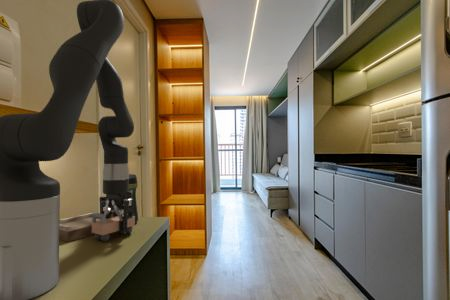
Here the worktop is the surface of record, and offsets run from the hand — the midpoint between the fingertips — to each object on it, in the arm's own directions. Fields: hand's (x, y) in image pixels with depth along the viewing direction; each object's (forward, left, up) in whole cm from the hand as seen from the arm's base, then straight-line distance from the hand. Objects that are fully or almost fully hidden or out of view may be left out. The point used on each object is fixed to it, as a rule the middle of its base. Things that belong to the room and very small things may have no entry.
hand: (115, 230), depth 72 cm
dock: (-3, +14, -2) cm, 14 cm away
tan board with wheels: (-1, 0, -2) cm, 2 cm away
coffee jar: (+10, +10, -2) cm, 15 cm away
